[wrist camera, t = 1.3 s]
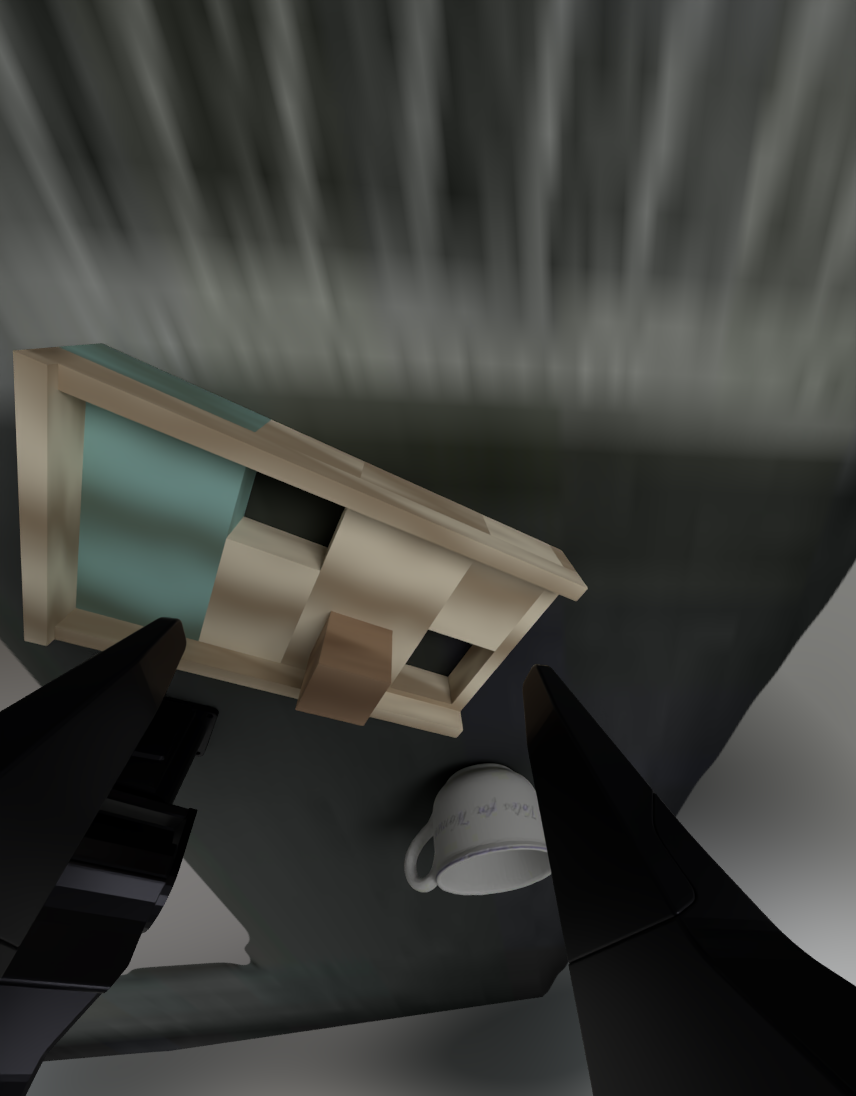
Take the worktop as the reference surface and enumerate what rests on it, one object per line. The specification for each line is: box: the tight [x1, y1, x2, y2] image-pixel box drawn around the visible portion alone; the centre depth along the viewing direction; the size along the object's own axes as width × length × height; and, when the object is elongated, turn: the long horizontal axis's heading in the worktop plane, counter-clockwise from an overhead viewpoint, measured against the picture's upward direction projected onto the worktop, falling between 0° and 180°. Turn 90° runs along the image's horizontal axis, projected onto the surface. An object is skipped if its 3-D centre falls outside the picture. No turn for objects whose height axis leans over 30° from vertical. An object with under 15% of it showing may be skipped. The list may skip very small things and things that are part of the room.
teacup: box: [404, 763, 551, 895], centre depth 35 cm, size 14×11×8 cm
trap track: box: [13, 343, 588, 738], centre depth 22 cm, size 15×26×4 cm, turn 63°
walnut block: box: [295, 611, 393, 726], centre depth 22 cm, size 4×4×4 cm
